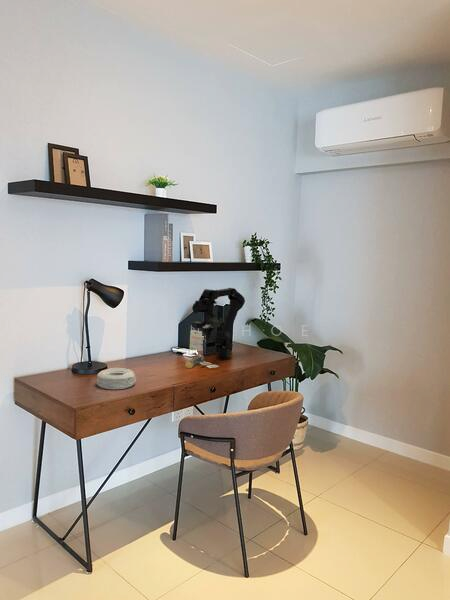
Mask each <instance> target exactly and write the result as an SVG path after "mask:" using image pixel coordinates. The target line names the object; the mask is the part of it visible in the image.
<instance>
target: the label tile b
mask: <svg viewBox="0 0 450 600" xmlns="http://www.w3.org/2000/svg"><path fill="white" fill-rule="evenodd" d="M205 367H207V368H209V369H211V368H212V369H213V368H214V369H215V368H220V366H219V365H216V364H208V365H205Z"/></svg>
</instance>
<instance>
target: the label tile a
mask: <svg viewBox="0 0 450 600" xmlns="http://www.w3.org/2000/svg"><path fill="white" fill-rule="evenodd" d="M198 365H201V366H209V365H213V364H212V363H211V362H210V361H209V362H208V361H206V362H203V363H198Z"/></svg>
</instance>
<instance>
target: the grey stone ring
mask: <svg viewBox="0 0 450 600" xmlns="http://www.w3.org/2000/svg"><path fill="white" fill-rule="evenodd" d="M136 380H137V379H136V375H135V372H134V371H133V370H131V369H128V368H124V367H123V368H122V367H112V368H111V367H110V368H106V369H103V370H101V371H99V372H98V373H97V376H96V384H97V386H98V387H99V388H103V389H107V390H123V389H127V388H130V387H132V386H134V384H136Z"/></svg>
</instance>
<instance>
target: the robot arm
mask: <svg viewBox="0 0 450 600" xmlns="http://www.w3.org/2000/svg"><path fill="white" fill-rule="evenodd" d="M221 297H227V298H228V300H229V310H228V313H227V315H226V317H225V321H223V318H222V317H216V314H215V304H217V303H218V302H217V301H216V300H217V299H219V298H221ZM245 302H246V300H245V297H244V296H243V295H242V294H241V293H240V292H239V291H238V290H237V289H236V288H234V287H227V288H221V289H207V288H205V289H203V291H202V293H201V294H200V296H199V299H198V300H195V302H194V303H193V305H192V312H193V313H194V314H201V315H202V318H203V319H202V320H201V322H200V321H192V323H191V328H193V329H201V330H202V333H203V335H205V337H206V339H205V340H206V341H207V340H209V339H210V337H211V334H212V332H213V331H214V330H215V329H217V328H218V327H219V328H220V327H222V329H220V331H217V332H216V335H215V336H214V343H215V347H216V348H217V352H216V353H217V355H216V356H215V358H216V359H219V360H222V361H223V360H224V361H225V360H230V359H231V357H230V351H231V350H233V349H232V348H233V346H234V345H233V344H232V342H231V335H230V334H231V330H232V328H233V325H234V323H235V320H236V317H237V315H238V313H239V311H240V310H241V309H242V308H243V307H244V304H245Z"/></svg>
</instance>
